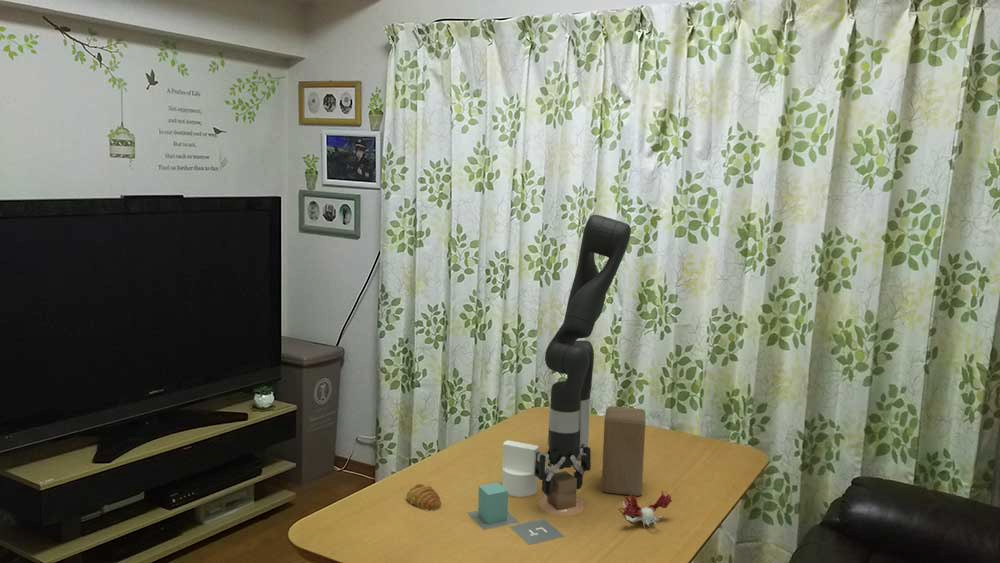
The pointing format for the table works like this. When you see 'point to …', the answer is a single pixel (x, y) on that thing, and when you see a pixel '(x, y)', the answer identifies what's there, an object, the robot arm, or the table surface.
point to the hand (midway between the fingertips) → (562, 491)
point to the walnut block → (562, 491)
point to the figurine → (644, 509)
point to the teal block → (493, 503)
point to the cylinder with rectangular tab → (519, 468)
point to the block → (623, 450)
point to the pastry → (424, 497)
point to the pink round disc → (565, 512)
